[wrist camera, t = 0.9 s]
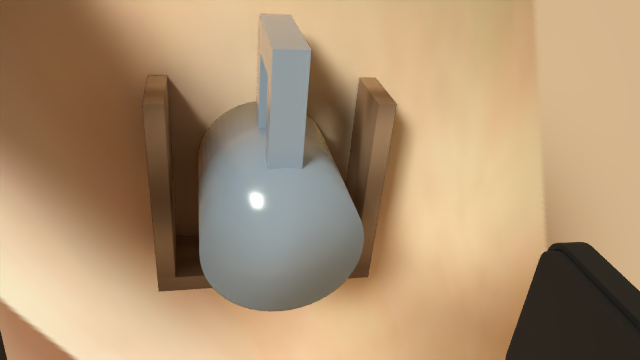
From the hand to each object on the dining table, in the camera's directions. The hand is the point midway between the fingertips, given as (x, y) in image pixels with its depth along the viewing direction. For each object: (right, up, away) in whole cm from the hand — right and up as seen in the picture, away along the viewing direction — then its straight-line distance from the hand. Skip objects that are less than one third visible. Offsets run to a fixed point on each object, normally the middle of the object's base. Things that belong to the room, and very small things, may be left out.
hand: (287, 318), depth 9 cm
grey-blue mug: (-3, +6, +23) cm, 24 cm away
